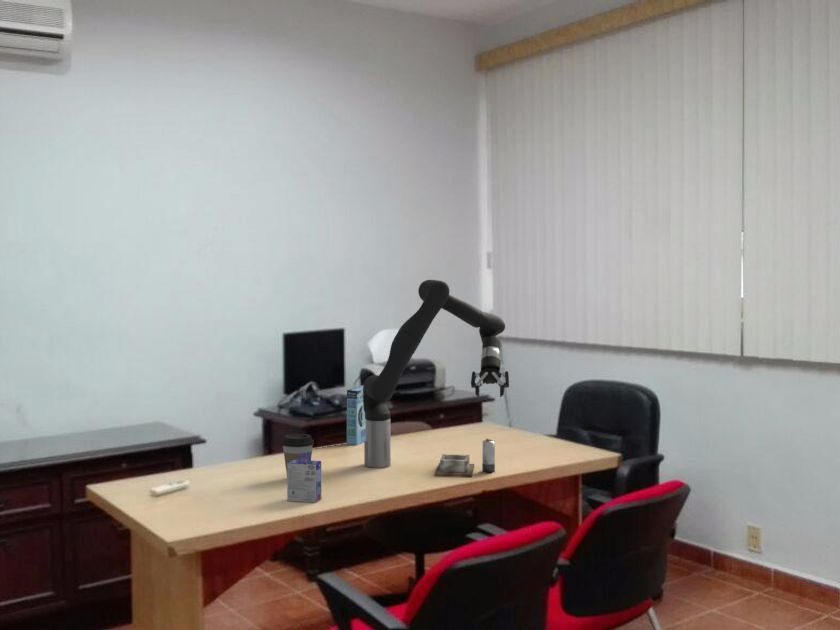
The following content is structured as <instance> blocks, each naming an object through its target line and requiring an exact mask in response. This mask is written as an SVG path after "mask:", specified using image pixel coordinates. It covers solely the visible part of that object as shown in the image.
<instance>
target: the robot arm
mask: <svg viewBox="0 0 840 630" xmlns="http://www.w3.org/2000/svg"><path fill="white" fill-rule="evenodd" d="M418 296H419V299H421V301H422V303H421V305H420V307H419V309H418V310H417V311H416V312H414V314H413V315H411V316H410V317H409V318H408V319H407V320H406V321H405V322H404V323H403V324H402V325H401V326H400V328H399V329H398V331H397V332H396V334H395V336H394V338H393V340H392V342H391V345H390V349H389V354H388V358H387V361H386V364H385V365H384V367H383V368H382V370H381V372H380V373H379V374H378V375H376V374H374V375H370V376H368V377H366V379H365V381H364V383H363V385H364V386H363V407H364V412H365V418H366V440H365V441H364V449H363V450H364V457H363V458H364V460H363V461H364V467H367V468H373V469H374V468H376V469H378V468H379V469H381V468H387V467H390V466H391V460H392V459H391V453H392V452H391V445H392V444H391V411H390V410H389V407H388V404H387V401H388V400H390V399H391V397H392V396H393V395H394V392H395V390H396V388H397V386H398V383H399V381H400V379H401V377H402V375H403V373H404V371H405V369H406V367H407V366H408V364H409V362H410V361H411V358H412V357H413V355H414V353H416V351H417V350H418V348H419V345H420V344H421V342H422V341H423V338H424V336H425V335H426V333H427V331H428V329H429V328H430V326H431V325H432V323H433V321H434V320H435V318H436V316H437V315H438V314H439V312H441V310H444V311H446V312H448V313H450V314H452V315H453V316H455V317H457V318H458V319H460V320H461V321H462V322H465V323H466V324H468V325H469V326H471V327H473V328H475V329H476V328H477V329H478V328H479V329H478V332H479V333H478V334H479V337H480V340H481V342H482V343H481V344H482V345H481V346H482V348H481V349H482V350H481V355H480V356H481V357H480V358H481V359H480V371H479V372H476V371H472V372H471V377H470V378H471V380H470V386H471V388H472V389H474V392H475V396H476V397H477V398H479V397H480V390H481V389H480V388H481V387H482V386H484V385H485V384H486V385H490V384H493V385H495V384H496V385H497V386H498V387H499V397H500V398H502V397H503V396H505V389H506V388H507V389H508V388H509V387H510V377H509V371H508V370H506V371H505V372H502V371H501V365H502V364H501V363H502V355H501V340H500V339H499V337H497V336H498V335H500V334H502V333H503V332H504V331H505V329H506V323H505V321H504V319H502V318H501V317H500V316H498V315H496V314H493V313H489V312H487V311H482V310H480V309H479V308H478V307H476V306H474V305H473V304H471V303H468V302H466V301H465V300H461V299H459V298H457V297H455V296H453V295H451V294H450V287H449V285H448V284H447V282H445V281H443V280H438V279H427V280H423V281H422V282H421V283H420V284H419V287H418ZM501 378H503V379H504V381H505V382H504V381H502V379H501ZM477 379H478V380H477ZM476 380H477V382H476Z"/></svg>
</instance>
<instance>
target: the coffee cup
mask: <svg viewBox="0 0 840 630" xmlns="http://www.w3.org/2000/svg"><path fill="white" fill-rule="evenodd" d="M283 437H284V438H283V439H282V440H281V446H282V450H283V455H284V456H283V457H284V464H285V471H286V474H287V463H289V462H290V461H292V460H299V458H300V454H301V453H307V454H311V456H312V455H313V454H312V453H313V446H314V445H315V440H314V439H313V438H312V435H311V434H309V433H308V434H307V433H292V434H287V435H284V436H283ZM302 458H309V456H306V455H305V456H302Z"/></svg>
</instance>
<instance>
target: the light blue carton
mask: <svg viewBox="0 0 840 630" xmlns="http://www.w3.org/2000/svg"><path fill="white" fill-rule="evenodd" d="M363 386H364V384H362V385H359V386H356V387H353V388H350V389H347V390H346V445H347V446H348V445H349V446H358V445H360V444H362V443H363V442H364V441H365V440H366V418H365V412H364V407H363Z"/></svg>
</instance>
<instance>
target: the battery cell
mask: <svg viewBox="0 0 840 630" xmlns="http://www.w3.org/2000/svg"><path fill="white" fill-rule="evenodd" d="M495 443H496V441H495V440H492V438H485V439H484V440H482V461H481V466H482V469H481V472H482V471H483V472H482V473H484V472H486V473H485V474H493V473H492V472H494V473H496V459H495V458H496V453H495V452H496V449H495V448H496V444H495Z"/></svg>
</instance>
